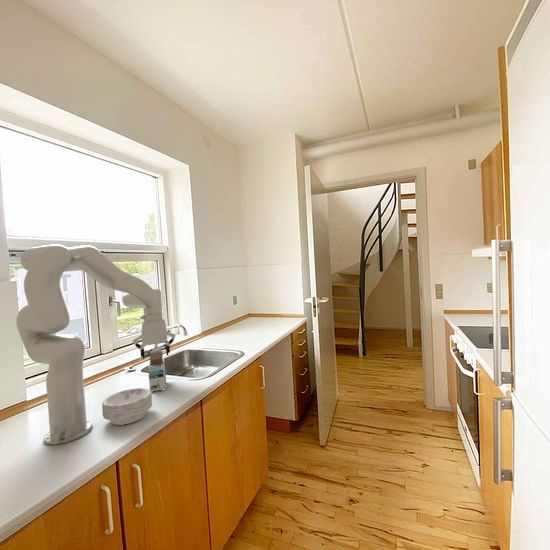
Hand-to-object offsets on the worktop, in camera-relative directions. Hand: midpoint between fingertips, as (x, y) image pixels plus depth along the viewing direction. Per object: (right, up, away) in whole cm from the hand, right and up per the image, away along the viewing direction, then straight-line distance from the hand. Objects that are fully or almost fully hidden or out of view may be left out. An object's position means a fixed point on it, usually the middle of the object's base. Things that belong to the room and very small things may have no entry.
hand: (155, 356), depth 126 cm
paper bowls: (+2, -14, -27) cm, 30 cm away
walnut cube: (0, -3, 0) cm, 3 cm away
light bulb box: (+1, -14, 0) cm, 14 cm away
